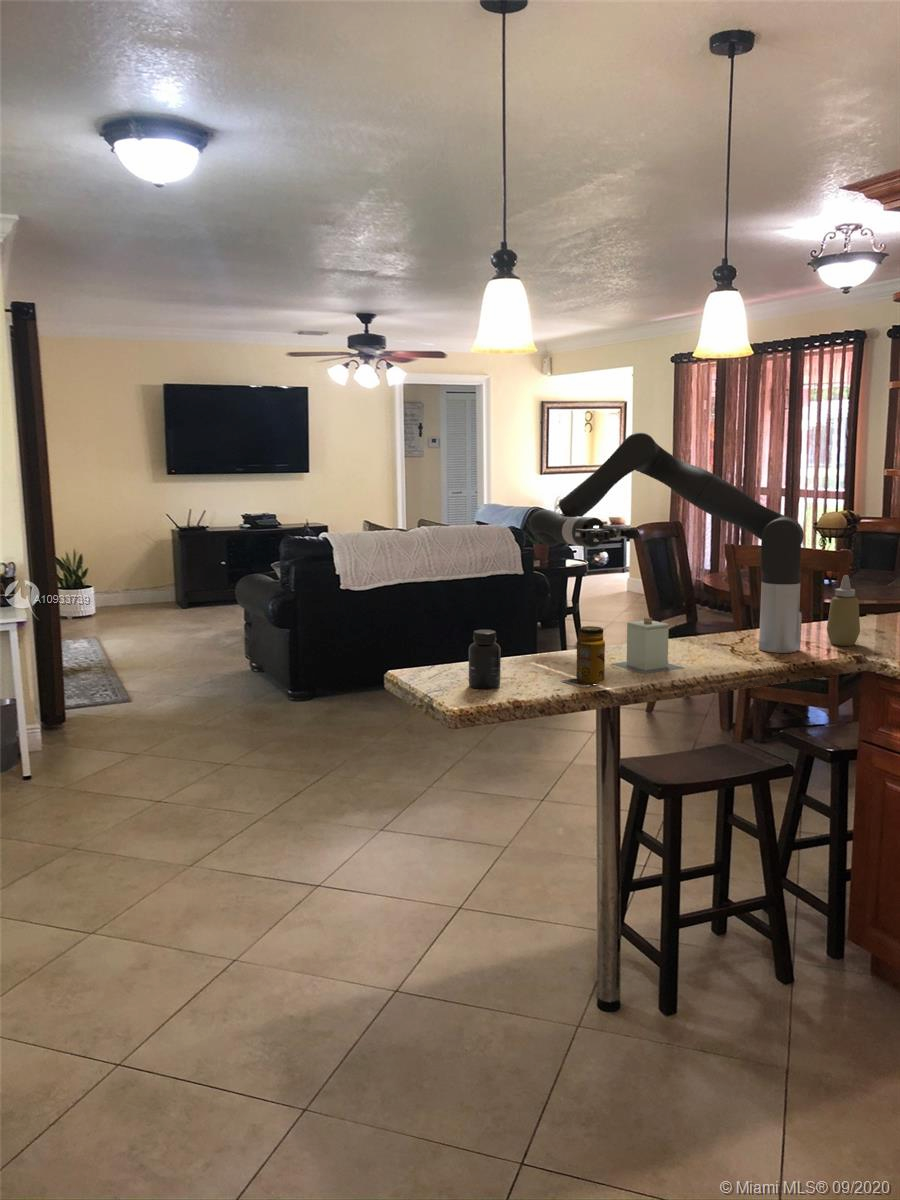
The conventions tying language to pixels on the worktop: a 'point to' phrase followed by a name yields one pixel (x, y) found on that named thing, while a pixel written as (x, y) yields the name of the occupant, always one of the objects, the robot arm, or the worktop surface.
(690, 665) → the worktop surface
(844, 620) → the squeeze bottle
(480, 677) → the supplement bottle
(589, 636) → the condiment
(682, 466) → the robot arm
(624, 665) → the mat
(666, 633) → the lidded square canister
